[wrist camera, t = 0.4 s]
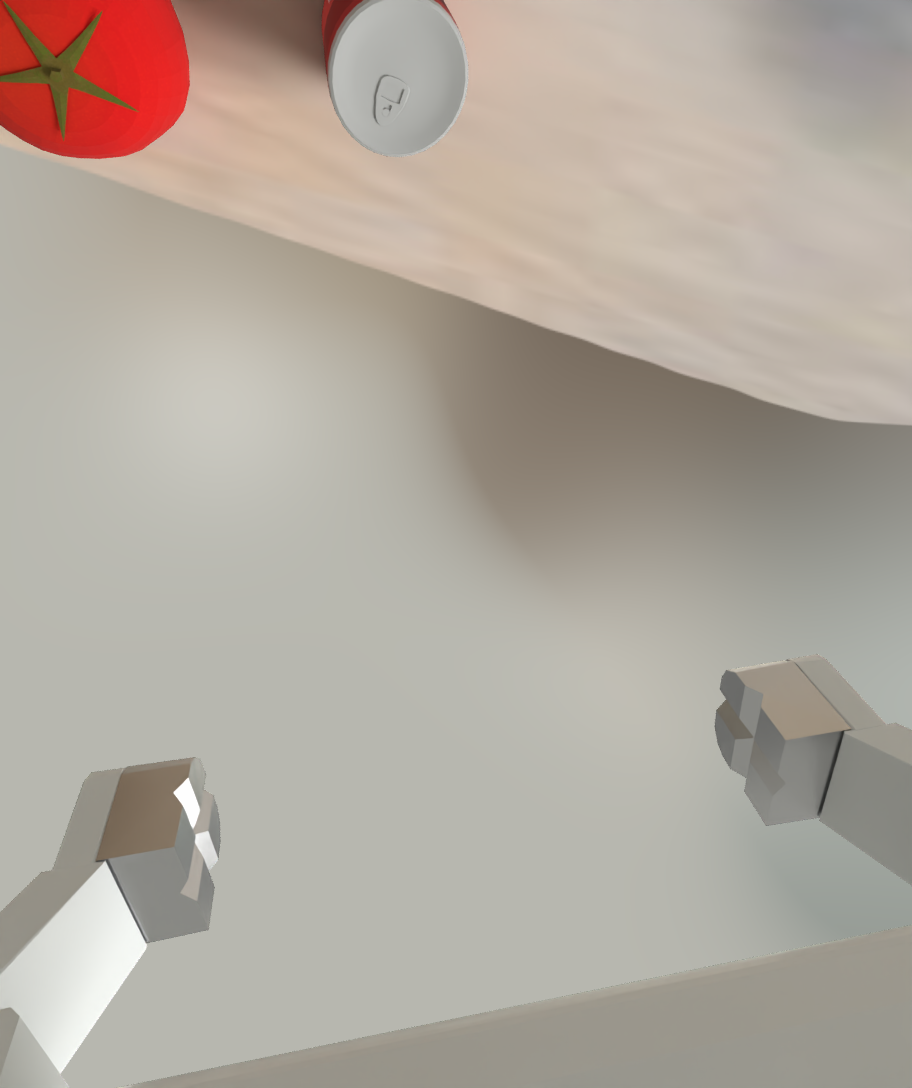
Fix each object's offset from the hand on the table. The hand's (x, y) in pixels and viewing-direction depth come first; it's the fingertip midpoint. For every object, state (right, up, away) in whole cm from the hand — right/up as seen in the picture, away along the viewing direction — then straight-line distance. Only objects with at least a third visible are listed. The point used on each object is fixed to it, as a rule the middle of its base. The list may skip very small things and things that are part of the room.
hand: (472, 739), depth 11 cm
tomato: (-23, +35, +33) cm, 53 cm away
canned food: (-5, +36, +36) cm, 51 cm away
